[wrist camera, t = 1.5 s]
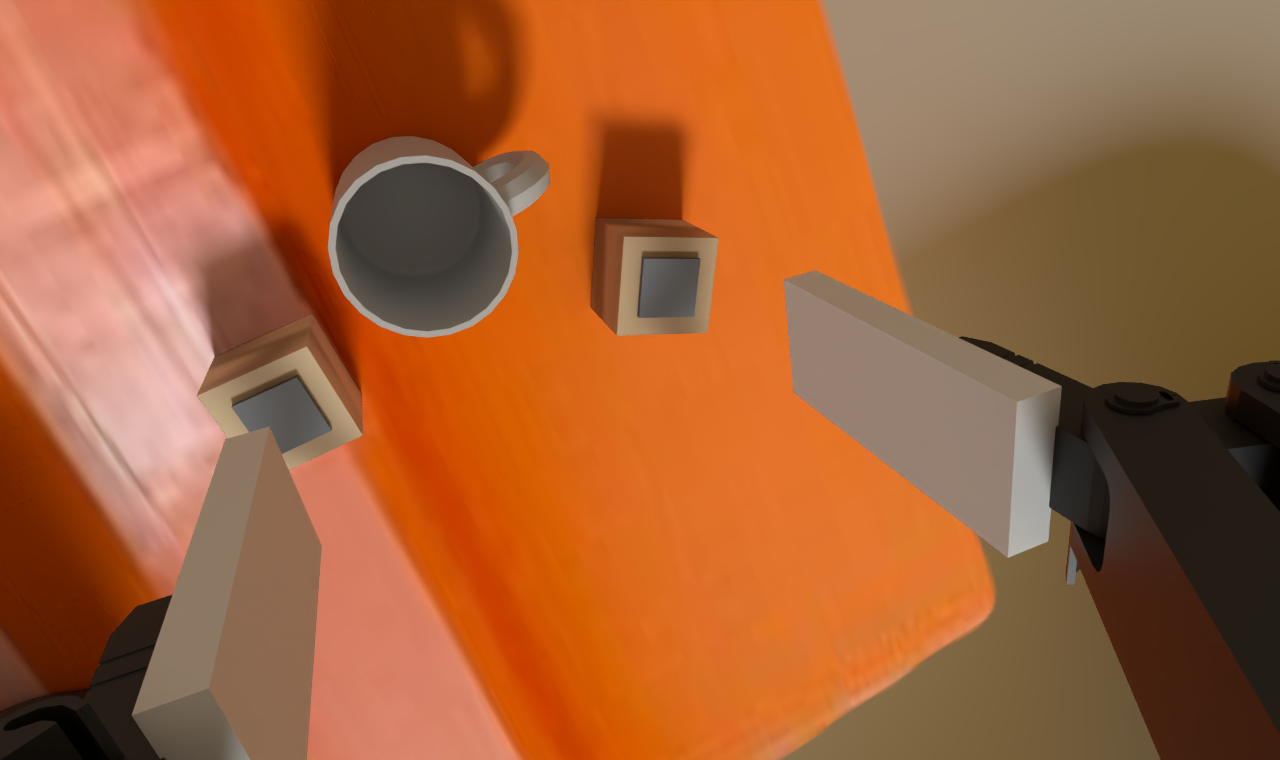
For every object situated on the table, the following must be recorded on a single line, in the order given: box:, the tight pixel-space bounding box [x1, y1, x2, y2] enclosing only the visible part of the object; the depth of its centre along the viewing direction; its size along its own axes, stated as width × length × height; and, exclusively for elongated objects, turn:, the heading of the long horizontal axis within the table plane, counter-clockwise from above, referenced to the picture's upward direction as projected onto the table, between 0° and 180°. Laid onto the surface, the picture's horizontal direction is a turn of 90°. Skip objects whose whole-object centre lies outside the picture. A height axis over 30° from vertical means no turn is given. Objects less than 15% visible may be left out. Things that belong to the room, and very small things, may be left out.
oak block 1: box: [197, 314, 363, 470], centre depth 37 cm, size 5×5×5 cm
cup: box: [328, 136, 550, 338], centre depth 34 cm, size 7×10×9 cm
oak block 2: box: [591, 218, 719, 336], centre depth 40 cm, size 5×5×5 cm
